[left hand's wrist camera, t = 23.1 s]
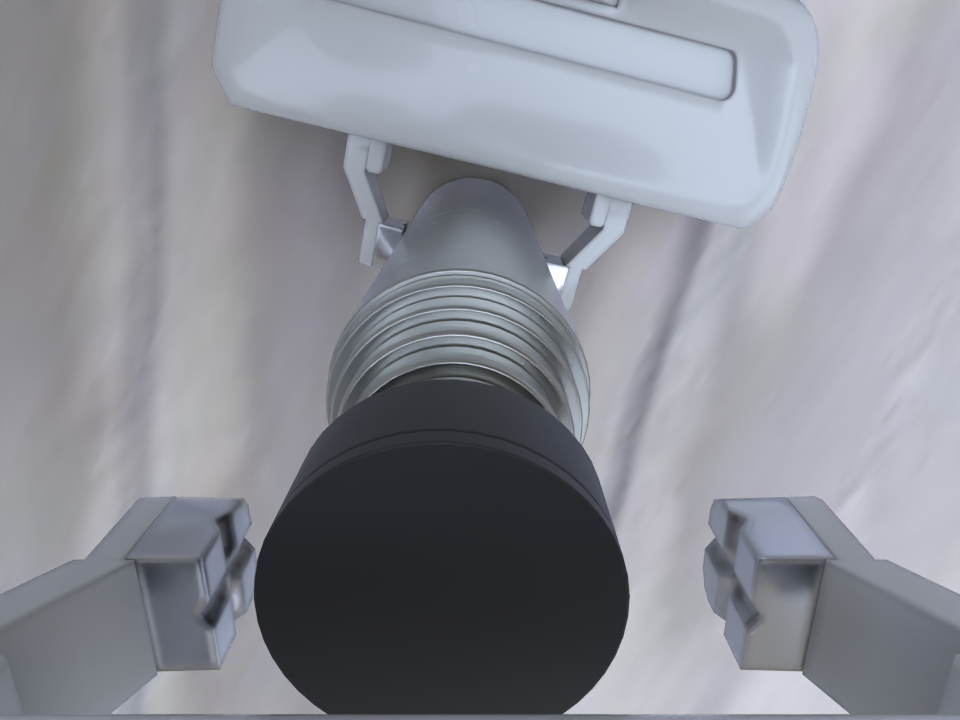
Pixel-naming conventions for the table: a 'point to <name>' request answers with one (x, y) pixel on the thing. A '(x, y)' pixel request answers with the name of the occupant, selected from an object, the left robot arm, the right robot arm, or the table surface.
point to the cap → (443, 560)
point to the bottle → (465, 311)
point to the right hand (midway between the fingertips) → (466, 285)
